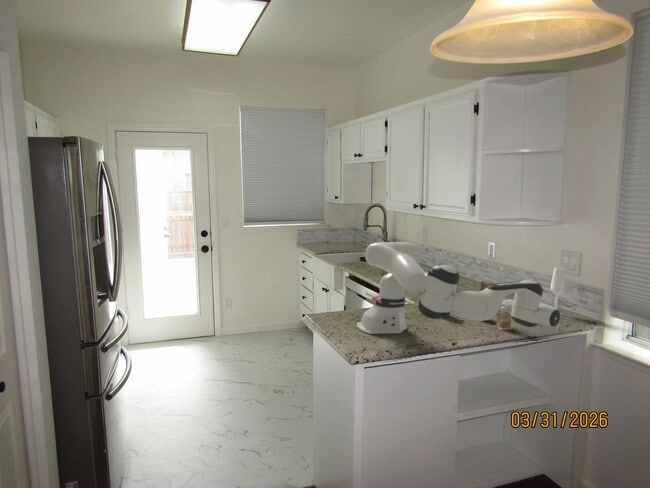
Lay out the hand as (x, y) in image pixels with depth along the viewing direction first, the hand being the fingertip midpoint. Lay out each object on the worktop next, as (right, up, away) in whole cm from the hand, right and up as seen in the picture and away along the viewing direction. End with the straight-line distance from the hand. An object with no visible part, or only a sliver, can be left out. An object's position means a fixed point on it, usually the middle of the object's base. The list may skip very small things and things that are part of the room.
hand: (503, 300), depth 204 cm
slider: (-4, -8, +12) cm, 15 cm away
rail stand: (-4, -11, +9) cm, 15 cm away
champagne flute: (+37, -10, +26) cm, 47 cm away
